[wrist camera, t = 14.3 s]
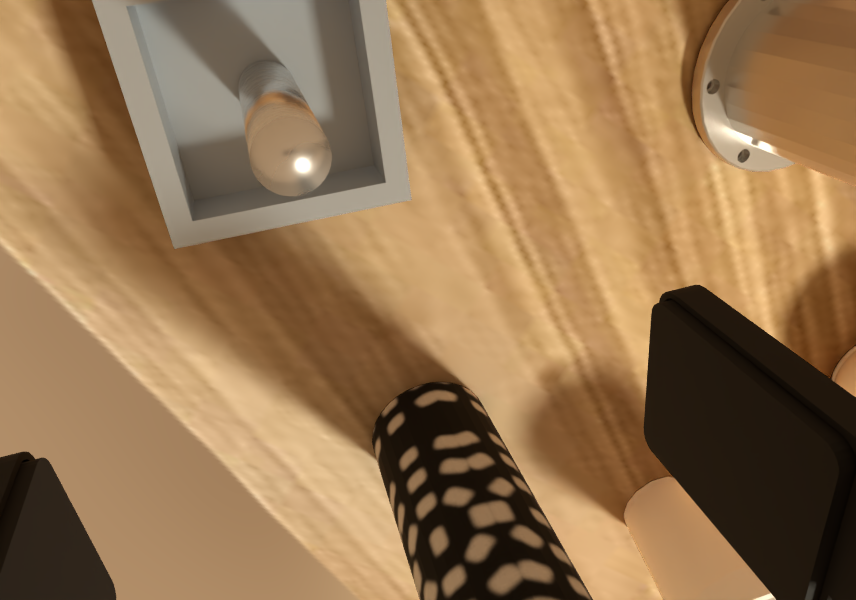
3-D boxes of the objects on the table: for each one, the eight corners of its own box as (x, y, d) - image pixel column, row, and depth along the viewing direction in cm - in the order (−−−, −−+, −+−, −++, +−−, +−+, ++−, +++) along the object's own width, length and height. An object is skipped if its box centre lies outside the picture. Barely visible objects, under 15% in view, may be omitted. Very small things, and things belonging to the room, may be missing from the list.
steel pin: (289, 55, 33) (323, 109, 23) (301, 112, 34) (338, 187, 24) (231, 64, 32) (240, 124, 22) (246, 122, 34) (260, 203, 24)
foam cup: (622, 468, 55) (723, 600, 44) (716, 456, 58) (834, 579, 47) (597, 551, 60) (684, 691, 49) (686, 537, 62) (787, 666, 51)
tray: (361, -62, 32) (378, -61, 29) (394, 176, 38) (411, 200, 35) (99, -27, 30) (84, -22, 27) (177, 219, 36) (174, 249, 33)
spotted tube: (347, 445, 47) (423, 739, 30) (429, 361, 45) (558, 619, 28) (429, 492, 51) (537, 772, 34) (507, 416, 49) (660, 669, 32)
